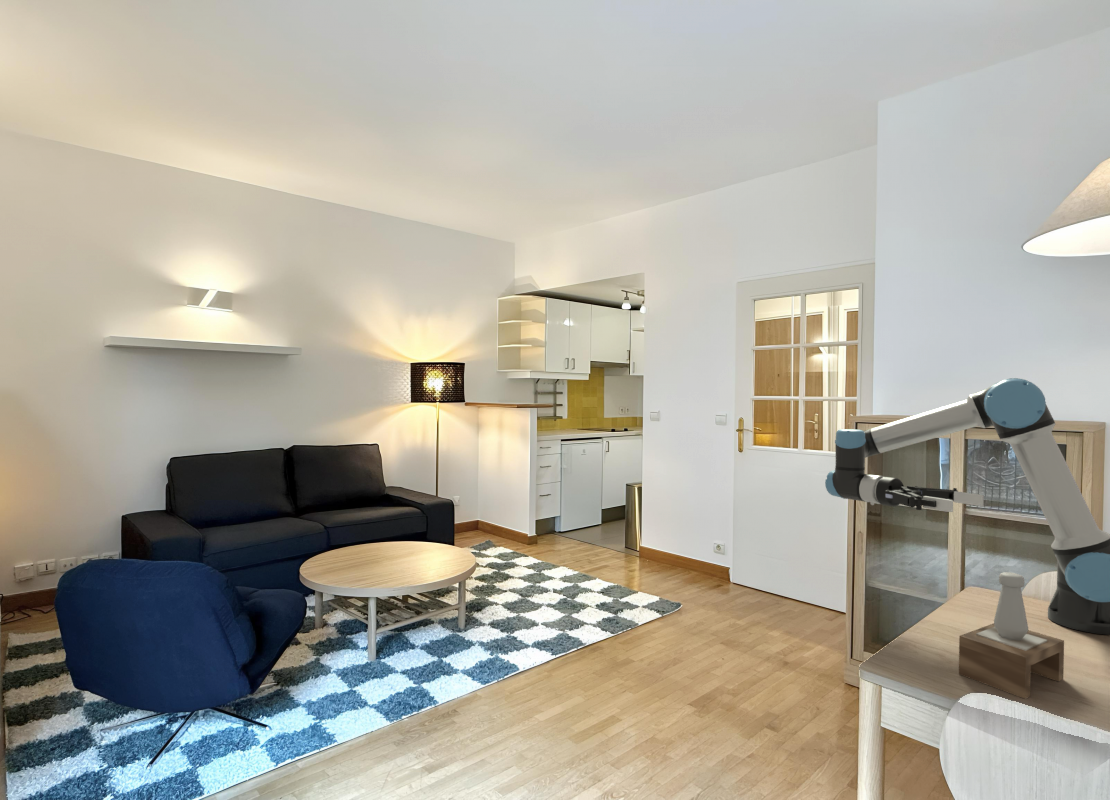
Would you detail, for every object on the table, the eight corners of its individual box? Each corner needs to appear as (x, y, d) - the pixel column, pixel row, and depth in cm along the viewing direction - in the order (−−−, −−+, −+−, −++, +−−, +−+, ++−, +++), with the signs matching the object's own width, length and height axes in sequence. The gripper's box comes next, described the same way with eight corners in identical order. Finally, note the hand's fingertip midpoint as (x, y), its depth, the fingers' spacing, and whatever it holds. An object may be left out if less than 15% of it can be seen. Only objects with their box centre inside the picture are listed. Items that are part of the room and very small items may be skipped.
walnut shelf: (998, 657, 139) (998, 620, 139) (1063, 679, 129) (1064, 639, 128) (958, 673, 131) (959, 634, 131) (1024, 698, 121) (1025, 655, 120)
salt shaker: (1034, 643, 126) (1035, 578, 126) (1003, 641, 127) (1004, 577, 127) (1017, 632, 132) (1018, 570, 132) (987, 630, 133) (989, 569, 133)
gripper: (909, 500, 174) (994, 513, 156) (853, 509, 162) (938, 524, 144) (910, 473, 174) (994, 483, 156) (853, 480, 162) (938, 492, 143)
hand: (968, 503), depth 150 cm, fingers open, 13 cm apart
